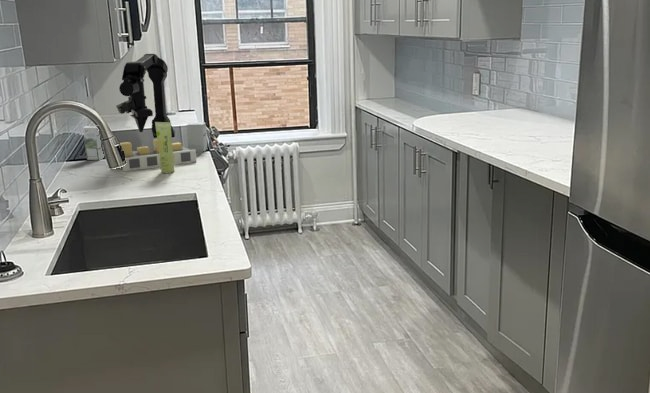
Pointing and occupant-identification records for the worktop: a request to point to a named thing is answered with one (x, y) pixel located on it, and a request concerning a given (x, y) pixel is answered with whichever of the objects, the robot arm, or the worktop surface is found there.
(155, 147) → the button
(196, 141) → the supplement box
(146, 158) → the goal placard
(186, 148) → the button board
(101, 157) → the syrup box
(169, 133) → the tube
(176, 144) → the button
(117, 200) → the worktop surface
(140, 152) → the button
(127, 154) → the button
